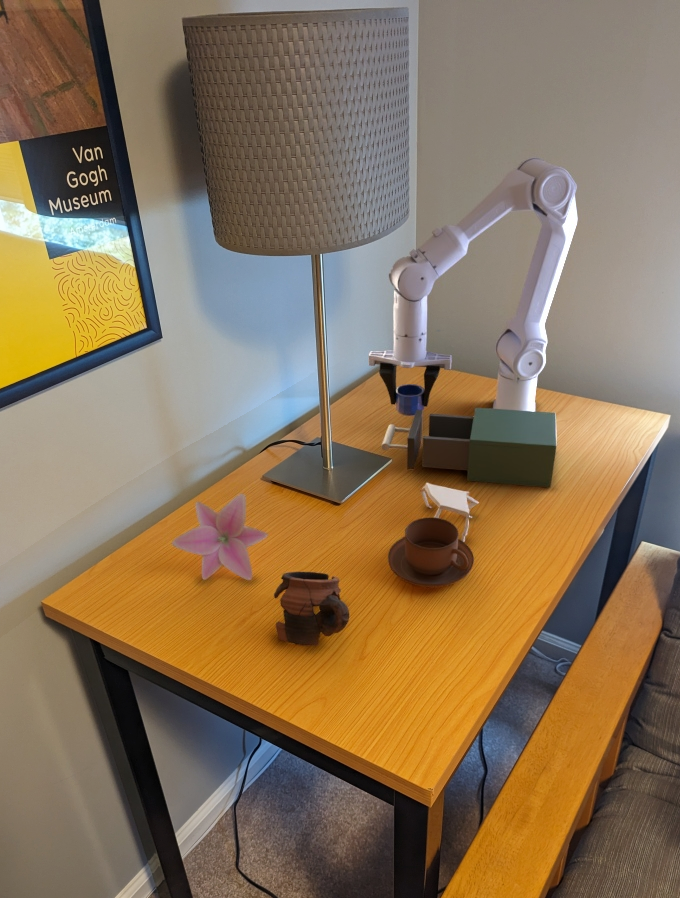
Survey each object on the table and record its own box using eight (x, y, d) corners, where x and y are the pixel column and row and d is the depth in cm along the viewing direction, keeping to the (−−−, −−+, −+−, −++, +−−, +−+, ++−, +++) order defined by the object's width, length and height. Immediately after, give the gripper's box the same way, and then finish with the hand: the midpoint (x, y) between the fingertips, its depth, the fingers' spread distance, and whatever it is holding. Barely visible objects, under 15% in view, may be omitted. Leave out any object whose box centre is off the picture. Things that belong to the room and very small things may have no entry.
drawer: (379, 467, 126) (379, 435, 122) (389, 437, 134) (389, 407, 131) (481, 475, 123) (484, 443, 120) (485, 445, 131) (487, 414, 128)
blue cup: (397, 403, 139) (397, 383, 137) (425, 404, 138) (426, 385, 136) (393, 415, 135) (393, 395, 132) (422, 417, 134) (422, 397, 132)
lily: (169, 571, 107) (160, 543, 99) (209, 506, 112) (204, 475, 104) (243, 606, 106) (240, 581, 98) (280, 539, 111) (281, 510, 103)
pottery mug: (256, 635, 95) (260, 572, 95) (308, 626, 103) (312, 567, 102) (323, 657, 88) (328, 588, 87) (374, 646, 95) (380, 582, 94)
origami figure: (494, 522, 114) (496, 495, 111) (462, 547, 109) (464, 520, 106) (431, 495, 120) (432, 469, 117) (399, 518, 115) (399, 491, 112)
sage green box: (467, 480, 124) (469, 439, 119) (472, 446, 133) (475, 407, 128) (550, 487, 121) (556, 445, 117) (550, 452, 131) (555, 412, 126)
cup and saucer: (482, 552, 108) (485, 517, 104) (459, 604, 99) (461, 567, 95) (404, 535, 111) (405, 501, 108) (375, 583, 102) (374, 548, 99)
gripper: (364, 337, 126) (366, 410, 134) (450, 342, 123) (446, 415, 131) (372, 323, 131) (373, 393, 139) (454, 326, 129) (450, 398, 137)
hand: (409, 403), depth 136 cm, fingers closed on blue cup, 5 cm apart
